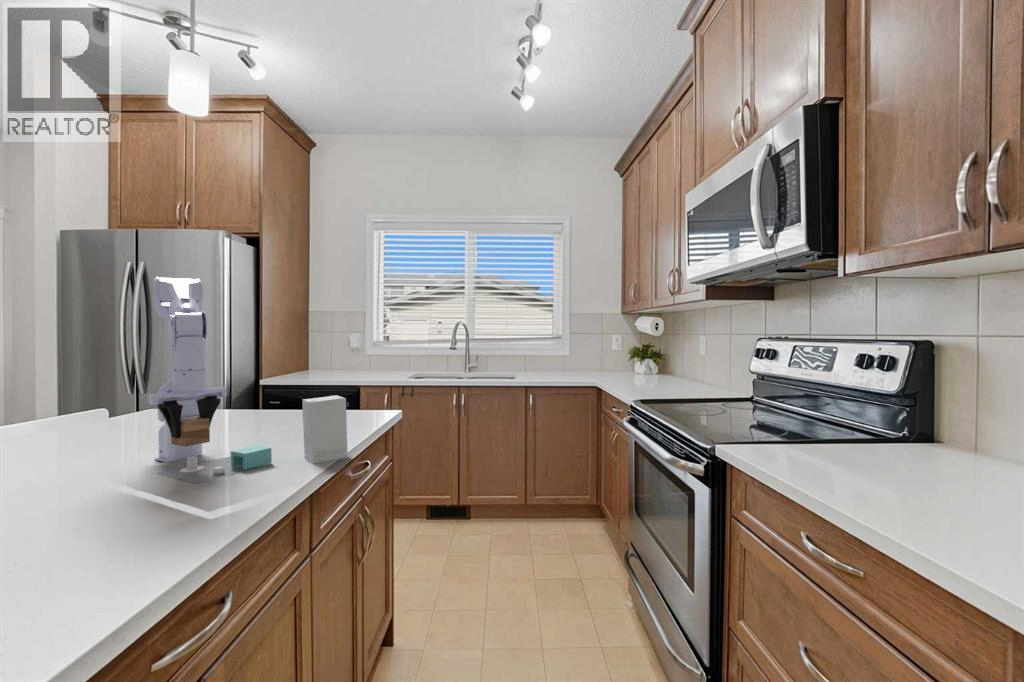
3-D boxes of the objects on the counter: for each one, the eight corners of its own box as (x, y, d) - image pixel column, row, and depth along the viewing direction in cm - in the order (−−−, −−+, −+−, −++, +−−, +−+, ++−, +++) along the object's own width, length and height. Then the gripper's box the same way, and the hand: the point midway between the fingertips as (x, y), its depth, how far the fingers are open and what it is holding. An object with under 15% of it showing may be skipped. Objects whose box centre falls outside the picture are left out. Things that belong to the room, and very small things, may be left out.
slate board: (156, 477, 103) (155, 460, 103) (232, 460, 117) (232, 445, 117) (196, 489, 96) (196, 470, 96) (273, 468, 110) (272, 452, 109)
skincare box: (339, 457, 119) (338, 394, 119) (348, 462, 115) (347, 397, 114) (302, 463, 114) (301, 397, 114) (311, 468, 109) (310, 400, 109)
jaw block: (171, 443, 104) (171, 419, 104) (196, 439, 109) (196, 416, 108) (184, 446, 102) (184, 422, 102) (209, 441, 106) (209, 418, 106)
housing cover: (231, 466, 107) (230, 451, 107) (257, 460, 112) (257, 445, 112) (245, 469, 105) (244, 453, 104) (271, 462, 110) (271, 447, 110)
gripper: (160, 373, 97) (161, 443, 97) (234, 368, 109) (235, 430, 109) (142, 372, 100) (143, 439, 101) (216, 367, 113) (217, 427, 113)
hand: (190, 434), depth 105 cm, fingers closed on jaw block, 5 cm apart
